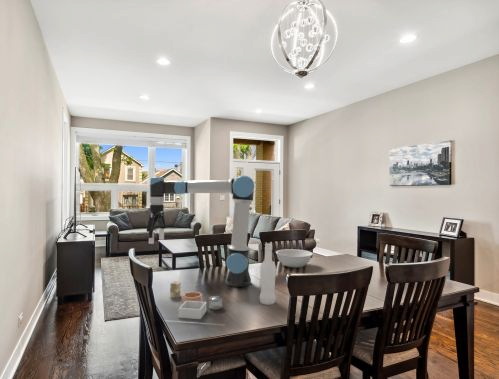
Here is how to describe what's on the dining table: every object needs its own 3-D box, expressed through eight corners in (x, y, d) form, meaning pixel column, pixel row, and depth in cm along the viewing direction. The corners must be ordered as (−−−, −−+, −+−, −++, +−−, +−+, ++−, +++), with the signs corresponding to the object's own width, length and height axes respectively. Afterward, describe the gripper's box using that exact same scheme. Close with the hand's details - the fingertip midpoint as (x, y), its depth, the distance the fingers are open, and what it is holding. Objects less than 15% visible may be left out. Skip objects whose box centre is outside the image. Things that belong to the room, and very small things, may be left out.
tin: (223, 306, 164) (223, 296, 164) (220, 311, 158) (220, 300, 158) (210, 306, 165) (210, 295, 165) (207, 310, 159) (207, 299, 159)
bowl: (272, 262, 262) (272, 249, 262) (306, 261, 265) (306, 249, 265) (279, 271, 235) (279, 256, 234) (317, 270, 238) (317, 256, 237)
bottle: (258, 299, 175) (259, 242, 174) (274, 299, 175) (275, 242, 175) (260, 305, 167) (261, 245, 166) (276, 305, 167) (277, 245, 167)
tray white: (206, 312, 157) (206, 302, 157) (200, 321, 147) (200, 309, 147) (185, 311, 158) (185, 300, 158) (178, 319, 148) (178, 308, 148)
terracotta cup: (203, 303, 169) (203, 292, 169) (198, 309, 160) (198, 298, 160) (186, 302, 170) (186, 291, 170) (180, 308, 161) (180, 297, 161)
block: (180, 297, 177) (180, 281, 177) (177, 299, 173) (177, 284, 173) (173, 296, 178) (173, 281, 178) (170, 299, 174) (170, 283, 174)
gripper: (159, 203, 204) (159, 238, 204) (140, 205, 179) (139, 245, 179) (171, 203, 203) (171, 238, 203) (153, 205, 178) (153, 245, 178)
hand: (156, 241), depth 191 cm, fingers open, 13 cm apart
